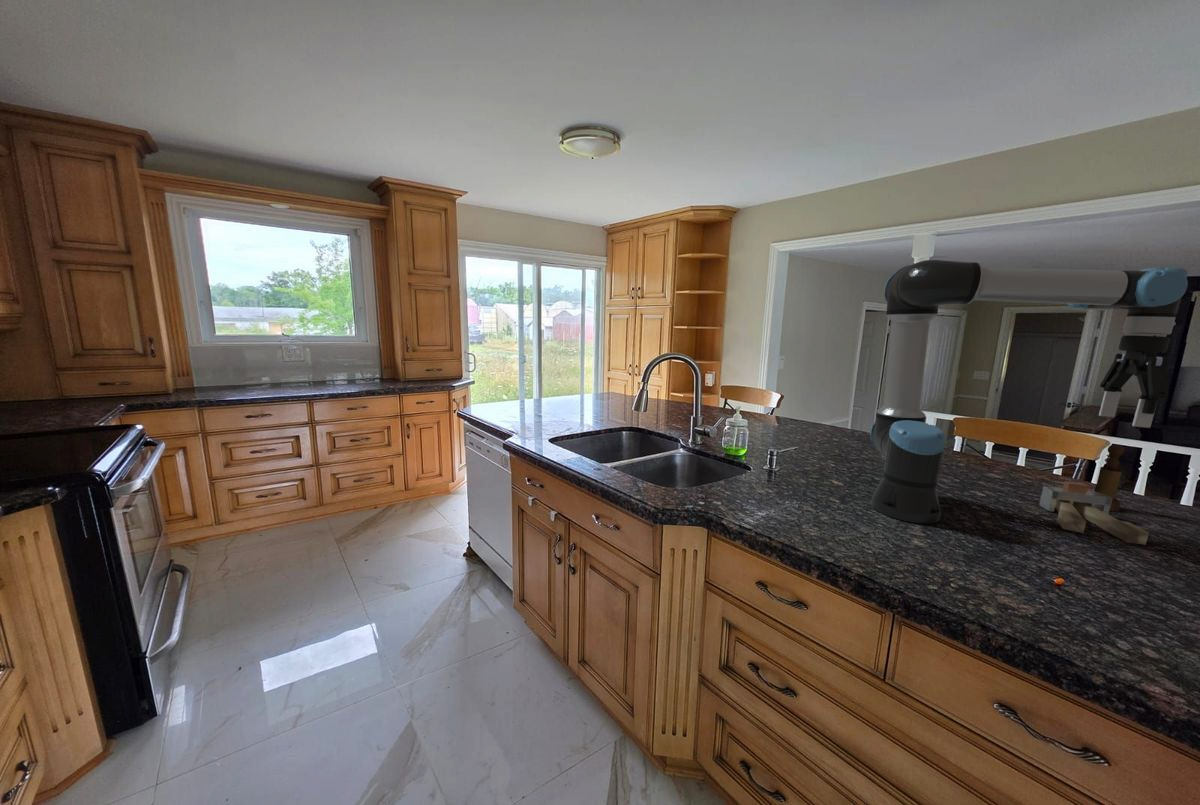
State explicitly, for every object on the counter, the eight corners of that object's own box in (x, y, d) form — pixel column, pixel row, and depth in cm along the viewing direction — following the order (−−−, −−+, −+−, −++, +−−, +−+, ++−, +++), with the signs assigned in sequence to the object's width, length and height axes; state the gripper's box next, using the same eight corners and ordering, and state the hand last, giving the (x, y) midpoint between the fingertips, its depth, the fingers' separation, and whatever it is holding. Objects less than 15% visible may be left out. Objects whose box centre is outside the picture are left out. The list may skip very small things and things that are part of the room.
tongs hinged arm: (1063, 528, 109) (1066, 512, 108) (1042, 498, 129) (1045, 484, 128) (1098, 536, 106) (1102, 519, 105) (1071, 504, 125) (1074, 489, 124)
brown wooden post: (1126, 512, 121) (1143, 449, 118) (1098, 509, 123) (1114, 447, 119) (1104, 503, 128) (1120, 442, 124) (1077, 500, 129) (1092, 440, 126)
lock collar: (1048, 510, 120) (1054, 483, 119) (1039, 505, 124) (1045, 479, 122) (1107, 518, 116) (1114, 490, 115) (1096, 512, 120) (1102, 485, 119)
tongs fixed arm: (1116, 540, 104) (1120, 528, 104) (1052, 503, 126) (1054, 492, 126) (1145, 544, 103) (1149, 531, 102) (1075, 505, 125) (1077, 495, 124)
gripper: (1210, 337, 94) (1182, 434, 98) (1133, 335, 116) (1113, 414, 120) (1160, 335, 97) (1134, 429, 101) (1094, 333, 119) (1075, 410, 123)
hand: (1122, 421), depth 110 cm, fingers open, 13 cm apart
